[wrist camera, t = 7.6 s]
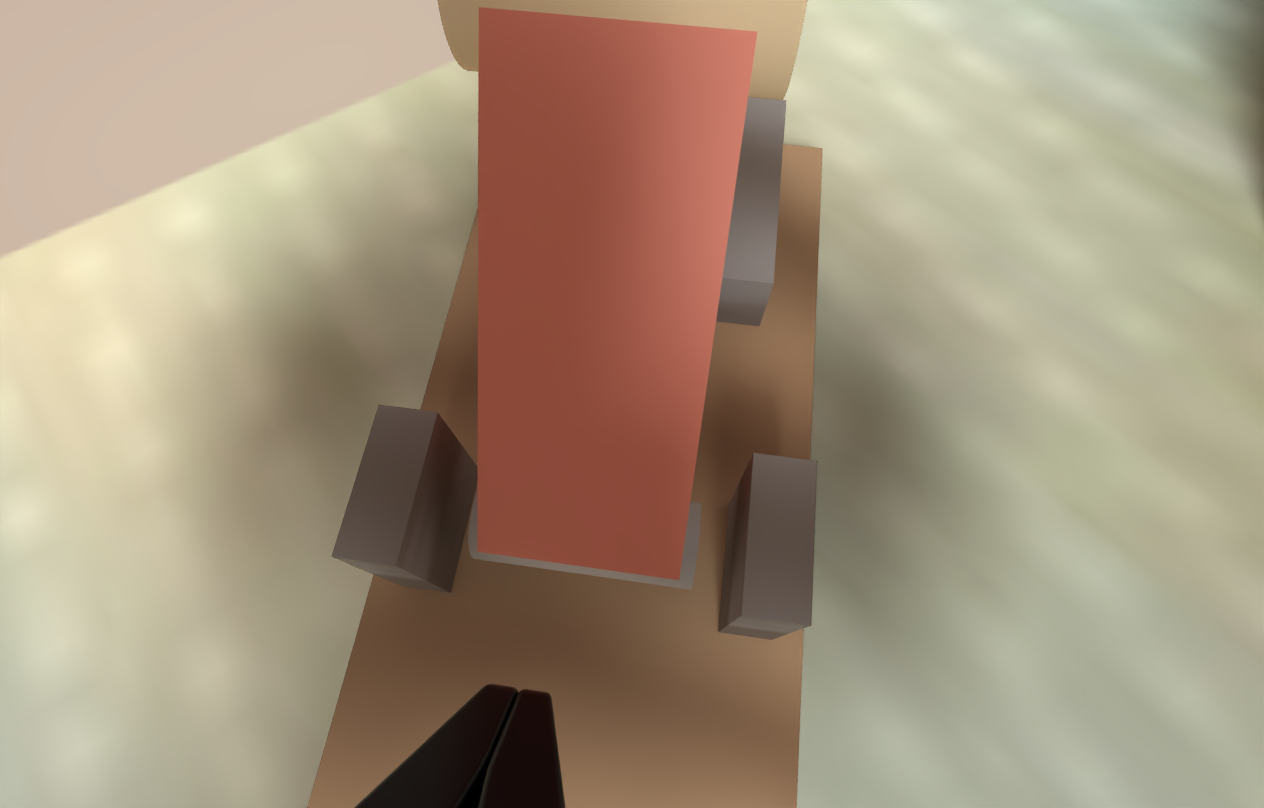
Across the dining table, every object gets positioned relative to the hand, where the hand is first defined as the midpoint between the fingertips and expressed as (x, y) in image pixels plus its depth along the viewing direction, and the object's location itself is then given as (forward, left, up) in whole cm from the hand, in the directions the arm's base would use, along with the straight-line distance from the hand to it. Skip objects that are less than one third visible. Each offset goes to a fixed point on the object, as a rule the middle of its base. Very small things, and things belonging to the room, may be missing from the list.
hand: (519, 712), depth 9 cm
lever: (+3, +2, -5) cm, 6 cm away
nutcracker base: (+5, +4, -8) cm, 10 cm away
